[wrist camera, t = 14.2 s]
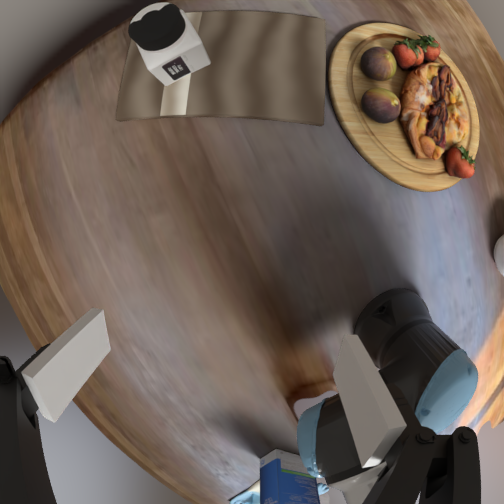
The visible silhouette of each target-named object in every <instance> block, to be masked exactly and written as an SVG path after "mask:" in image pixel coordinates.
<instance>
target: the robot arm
mask: <svg viewBox="0 0 504 504" xmlns="http://www.w3.org/2000/svg"><path fill="white" fill-rule="evenodd" d="M110 350H111V349H110V344H109V339H108V334H107V328H106V323H105V317H104V311H103V310H102V309H97V308H92V309H90V310H89V311H88V312H87V313H86V314H85V315H83V316H82V317H81V318H80V319H79V320H78V321H76V322H75V323H74V324H73V325H72V326H71V327H70V328H68V329H67V330H66V331H65V332H64V333H63V334H62V335H61V336H59V337H58V338H57V339H56V340H55V341H54V342H53V343H52V344H50V343H49V344H47V345H45V346H43V347H41V348H40V349H39V350H38V351H37V352H36V354H34V355H32V356H31V358H29V359H28V360H27V361H26V362H25V363H24V364H23V365H22V366H21V367H20V368H19V369H18V370H16V371H15V370H14V368H13V365H12V363H11V360H10V359H9V358H8V357H6V356H0V504H57V503H56V500H55V496H54V493H53V490H52V487H51V483H50V479H49V475H48V471H47V467H46V463H45V459H44V453H43V448H42V442H41V436H40V429H39V423H38V416H37V414H36V411H37V410H38V409H40V411H41V413H42V415H43V417H45V418H47V419H49V420H51V421H53V422H54V423H55V422H56V420H57V419H58V418H59V417H60V415H61V414H62V412H63V411H64V409H65V408H66V407H67V405H68V404H69V403H70V402H71V400H72V399H73V398H74V396H75V395H76V394H77V392H78V391H79V390H80V388H81V387H82V386H83V384H84V383H85V382H86V380H87V379H88V378H89V377H90V375H91V374H92V373H93V371H94V370H95V369H96V368H97V366H98V365H99V364H100V363H101V361H102V360H103V359H104V358H105V356H106V355H107V354H108V353H109V351H110ZM375 366H376V367H377V368H379V369H380V370H379V371H378V370H377V368H376V367H375ZM333 377H334V380H335V383H336V386H337V389H338V392H339V393H338V394H336V395H334V396H332V397H330V398H325V399H324V400H322V402H321V403H318V404H316V405H315V406H313V407H311V408H309V409H307V410H306V411H304V412H303V414H302V415H301V417H300V419H299V422H298V426H297V443H298V449H299V453H300V457H301V460H302V463H303V465H304V467H307V472H308V473H309V474H310V475H311V476H313V477H316V478H317V477H319V478H322V477H325V480H326V483H327V485H328V486H329V487H331V488H335V489H338V490H340V491H342V493H343V495H344V498H345V500H346V503H347V504H415V502H416V500H417V498H418V495H419V493H420V491H421V493H420V499H419V504H481V475H480V460H479V450H478V442H477V436H476V433H475V432H474V431H473V430H472V429H470V428H469V427H465V426H462V427H458V428H456V429H455V431H454V432H453V433H452V435H436V434H437V433H439V432H441V431H442V430H444V429H445V428H446V427H448V426H449V425H450V424H451V423H452V422H453V421H454V420H455V419H456V418H457V417H458V416H459V415H460V414H461V413H462V412H463V410H464V409H465V408H466V406H467V405H468V403H469V402H470V400H471V398H472V396H473V394H474V392H475V390H476V387H477V382H478V371H477V368H476V366H475V364H474V363H473V362H472V361H471V360H470V358H469V357H468V355H467V353H466V352H465V351H464V350H463V349H461V348H460V347H459V346H458V345H457V344H456V343H455V342H454V341H453V340H452V339H450V338H449V337H448V336H447V335H446V334H445V333H444V332H443V331H442V330H441V329H440V328H439V327H438V326H436V325H435V324H434V323H433V321H432V319H431V316H430V314H429V311H428V308H427V305H426V304H425V302H424V301H423V299H422V298H420V297H419V296H418V295H417V294H416V293H414V292H413V291H411V290H408V289H393V290H390V291H387V292H385V293H383V294H381V295H379V296H378V297H376V298H375V299H374V300H372V301H371V302H370V303H369V304H368V305H367V306H366V308H365V309H364V310H363V312H362V313H361V315H360V317H359V319H358V321H357V324H356V327H355V333H354V335H344V337H343V341H342V345H341V348H340V352H339V355H338V359H337V362H336V366H335V369H334V372H333Z"/></svg>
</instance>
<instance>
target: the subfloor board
mask: <svg viewBox="0 0 504 504" xmlns="http://www.w3.org/2000/svg"><path fill="white" fill-rule="evenodd" d="M185 14H186V16H187V17H188V19H189V21H190V22H191V24H192V26H193V27H194V29H195V31H196V32H197V34H198V36H199V37H200V39H201V41H202V43H203V45H204V47H205V50H206V52H207V54H208V56H209V59H210V61H211V63H210V65H208V66H205V67H203V68H201V69H199V70H197V71H195V72H193V73H191V74H189V75H187V76H185V77H183V78H181V79H179V80H178V81H176V82H174V83H172V84H170V85H168V86H165V85H164V84H163V83H162V82H161V81H160V80H159V79H157V78H156V77H155V76H154V75H153V74H152V73H151V72H150V71H149V70H148V69H147V67H146V65H145V62H144V60H143V58H142V56H141V54H140V51H139V49H138V47H137V45H136V42H135V41H134V40H133V39H131V43H130V47H129V51H128V55H127V59H126V63H125V68H124V72H123V77H122V82H121V88H120V93H119V99H118V106H117V113H116V120H117V121H129V120H140V119H154V118H174V117H228V118H249V119H263V120H275V121H284V122H293V123H301V124H309V125H316V126H322V125H324V107H325V72H326V34H325V19H320V18H314V17H308V16H301V15H293V14H285V13H274V12H260V11H209V12H191V13H185Z"/></svg>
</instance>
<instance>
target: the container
mask: <svg viewBox="0 0 504 504" xmlns="http://www.w3.org/2000/svg"><path fill="white" fill-rule="evenodd" d="M128 32H129V36H130V37H131V38H132V39H133V40H134V41H135V42H136V45H137V47H138V49H139V51H140V54H141V56H142V58H143V60H144V62H145V65H146V67H147V69H148V70H149V71H150V72H151V73H152V74H153V75H154V76H155V77H156V78H157V79H159V80H160V81H161V82H162V83H163V84H164V85H165V86H168V85H170V84H172V83H174V82H176V81H178V80H179V79H181V78H183V77H185V76H187V75H189V74H191V73H193V72H195V71H197V70H199V69H201V68H203V67H205V66H208V65H210V63H211V61H210V59H209V56H208V54H207V52H206V50H205V47H204V45H203V43H202V41H201V39H200V37H199V36H198V34H197V32H196V31H195V29H194V27H193V26H192V24H191V22H190V21H189V19H188V17H187V16H186V14H185V13H184V11H183V10H179V8H178V7H177V6H176V5H174V4H172V3H166V2H165V3H156V4H152V5H150V6H147V7H145V8H144V9H142V10H141V11H140V12H138V13H137V14H136V15H135V16H134V18H133V19H132V21H131V23H130V25H129V30H128Z"/></svg>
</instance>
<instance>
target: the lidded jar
mask: <svg viewBox="0 0 504 504" xmlns="http://www.w3.org/2000/svg"><path fill="white" fill-rule="evenodd" d="M494 260H495V263H496V266H497V268H498V270H499V272H500V273H501V274H502V275H503V276H504V235H502V236H501V237H500V238H499V239H498V240H497V242H496V244H495V247H494Z"/></svg>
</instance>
